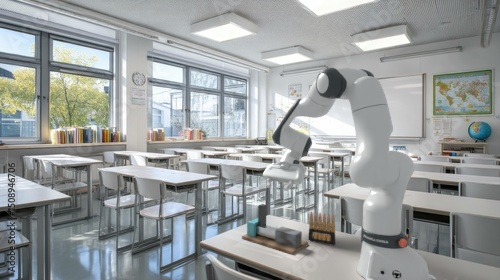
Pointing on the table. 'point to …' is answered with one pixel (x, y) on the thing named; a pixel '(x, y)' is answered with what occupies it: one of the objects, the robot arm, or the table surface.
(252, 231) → the socket block
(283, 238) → the board
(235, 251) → the table surface
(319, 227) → the ammunition clip
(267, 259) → the table surface
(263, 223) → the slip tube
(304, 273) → the table surface
